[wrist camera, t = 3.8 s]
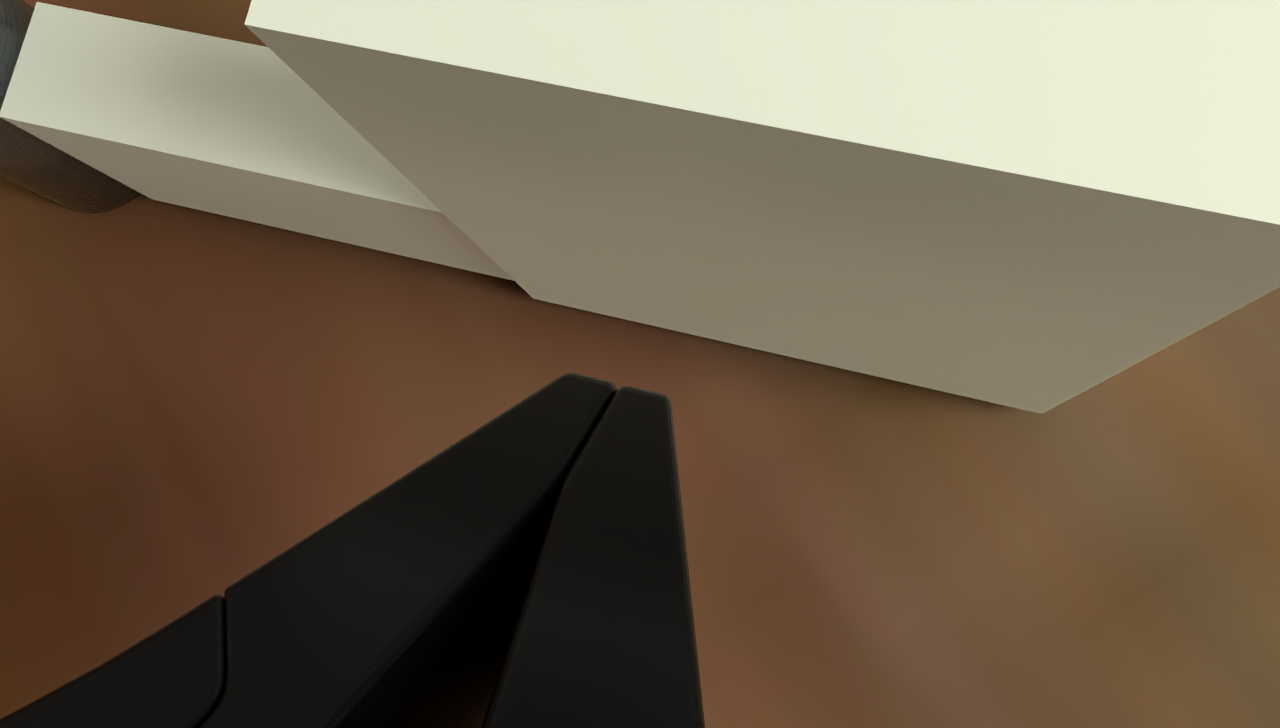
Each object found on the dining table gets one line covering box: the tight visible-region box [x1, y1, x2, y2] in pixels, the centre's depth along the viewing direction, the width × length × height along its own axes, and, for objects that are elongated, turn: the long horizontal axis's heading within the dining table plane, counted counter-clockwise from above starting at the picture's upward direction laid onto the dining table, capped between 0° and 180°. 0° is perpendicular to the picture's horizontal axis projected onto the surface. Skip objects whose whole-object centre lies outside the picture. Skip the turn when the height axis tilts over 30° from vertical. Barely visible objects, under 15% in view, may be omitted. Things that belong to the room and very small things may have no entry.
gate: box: [0, 0, 1280, 414], centre depth 13 cm, size 14×2×9 cm, turn 76°
